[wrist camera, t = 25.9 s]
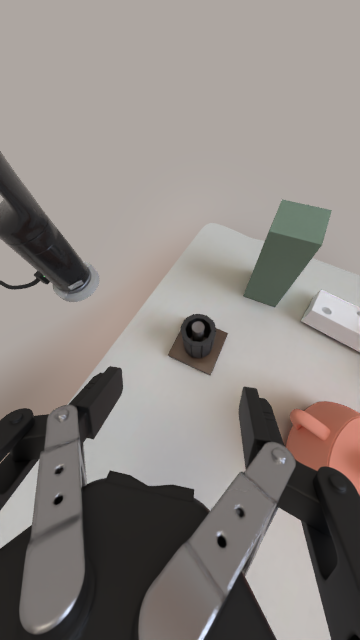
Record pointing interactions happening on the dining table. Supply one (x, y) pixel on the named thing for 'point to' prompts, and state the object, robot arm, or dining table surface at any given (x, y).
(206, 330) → the ring sleeve
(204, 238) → the dining table surface
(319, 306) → the bracket
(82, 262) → the robot arm
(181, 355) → the peg stand
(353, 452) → the teapot
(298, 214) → the rectangular block
